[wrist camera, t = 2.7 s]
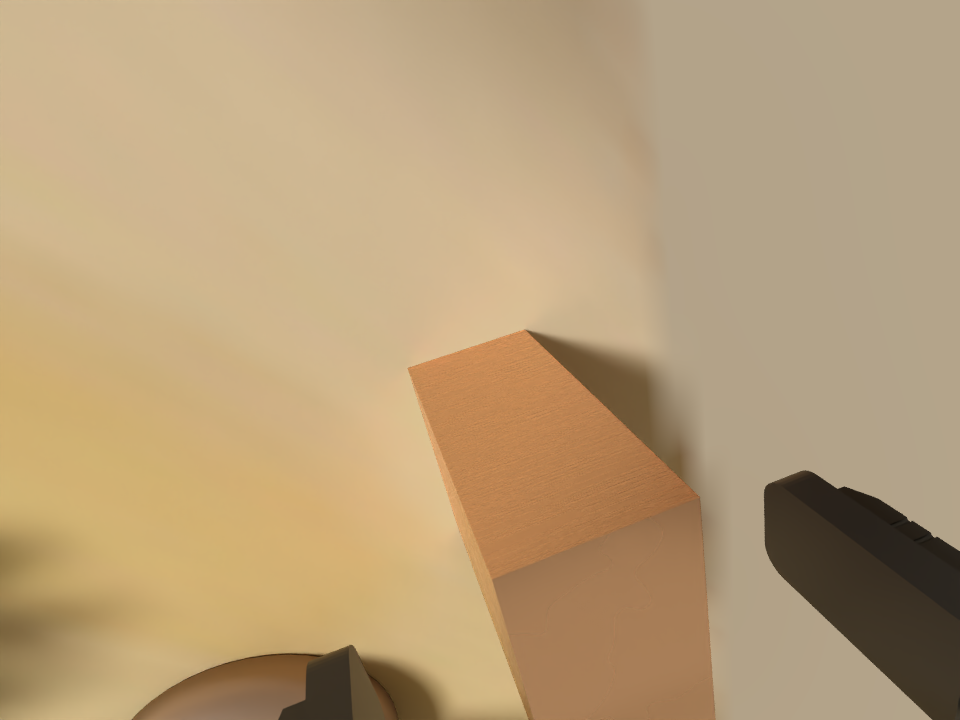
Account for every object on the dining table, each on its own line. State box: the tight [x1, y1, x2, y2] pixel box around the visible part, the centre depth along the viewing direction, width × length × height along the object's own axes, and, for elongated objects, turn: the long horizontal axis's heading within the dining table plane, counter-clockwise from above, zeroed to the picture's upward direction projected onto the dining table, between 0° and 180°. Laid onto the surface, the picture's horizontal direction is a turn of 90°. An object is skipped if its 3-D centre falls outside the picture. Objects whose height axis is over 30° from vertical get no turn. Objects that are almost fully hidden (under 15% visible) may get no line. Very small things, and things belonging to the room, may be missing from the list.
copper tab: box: [408, 330, 715, 720], centre depth 12 cm, size 5×3×7 cm, turn 13°
